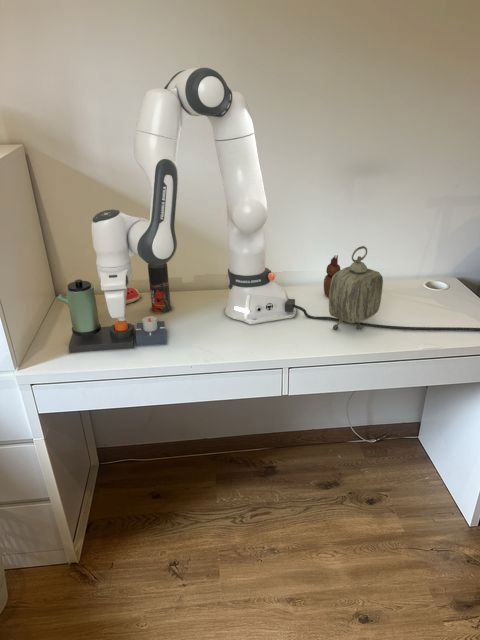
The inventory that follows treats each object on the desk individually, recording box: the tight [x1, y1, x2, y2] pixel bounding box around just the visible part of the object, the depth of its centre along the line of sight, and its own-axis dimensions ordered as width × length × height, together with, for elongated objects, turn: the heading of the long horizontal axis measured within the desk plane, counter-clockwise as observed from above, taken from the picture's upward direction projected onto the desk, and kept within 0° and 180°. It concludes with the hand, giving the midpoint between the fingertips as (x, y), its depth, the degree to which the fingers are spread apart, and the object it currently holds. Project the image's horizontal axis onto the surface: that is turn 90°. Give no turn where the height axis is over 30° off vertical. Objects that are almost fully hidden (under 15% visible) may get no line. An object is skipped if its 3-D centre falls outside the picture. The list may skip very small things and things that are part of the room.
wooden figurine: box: [323, 254, 341, 298], centre depth 181 cm, size 7×6×15 cm
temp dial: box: [141, 315, 158, 332], centre depth 155 cm, size 4×4×3 cm
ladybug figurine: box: [126, 287, 141, 305], centre depth 180 cm, size 7×10×4 cm
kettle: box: [56, 279, 102, 336], centre depth 150 cm, size 10×10×15 cm
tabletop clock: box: [328, 245, 384, 331], centre depth 158 cm, size 14×9×25 cm, turn 134°
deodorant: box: [147, 262, 172, 314], centre depth 171 cm, size 6×6×15 cm
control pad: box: [135, 320, 167, 347], centre depth 156 cm, size 8×9×3 cm
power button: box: [113, 319, 129, 331], centre depth 154 cm, size 4×4×2 cm
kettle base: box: [68, 322, 135, 354], centre depth 154 cm, size 17×11×4 cm, turn 100°
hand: (121, 318), depth 153 cm, fingers closed
